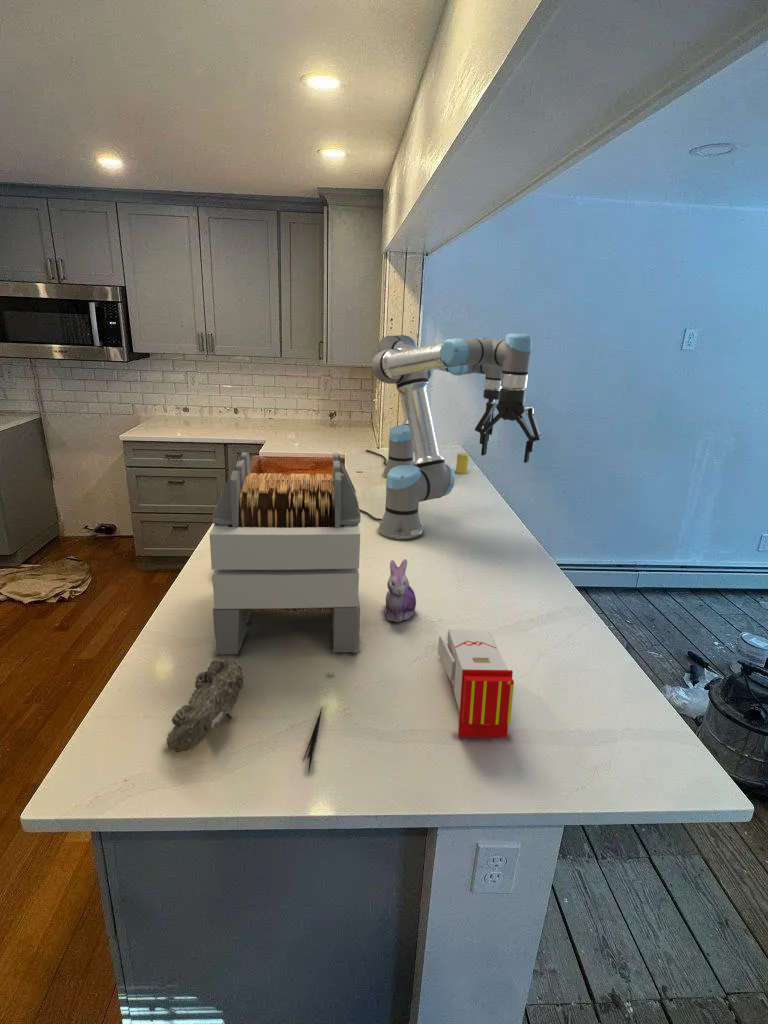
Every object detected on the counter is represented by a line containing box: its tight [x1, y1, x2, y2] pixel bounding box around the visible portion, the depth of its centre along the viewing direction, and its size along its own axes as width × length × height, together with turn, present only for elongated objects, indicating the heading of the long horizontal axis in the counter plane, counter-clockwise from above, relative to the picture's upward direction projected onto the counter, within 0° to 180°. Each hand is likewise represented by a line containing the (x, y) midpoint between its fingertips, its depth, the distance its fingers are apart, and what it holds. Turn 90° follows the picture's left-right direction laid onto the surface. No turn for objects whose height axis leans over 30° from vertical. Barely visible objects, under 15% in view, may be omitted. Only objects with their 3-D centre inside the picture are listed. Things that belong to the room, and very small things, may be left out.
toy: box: [437, 628, 515, 738], centre depth 117 cm, size 12×13×30 cm
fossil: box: [166, 658, 245, 754], centre depth 106 cm, size 22×10×15 cm
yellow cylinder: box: [455, 452, 469, 475], centre depth 278 cm, size 5×5×9 cm
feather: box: [301, 673, 332, 771], centre depth 108 cm, size 2×28×2 cm
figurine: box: [384, 558, 417, 623], centre depth 145 cm, size 9×10×15 cm
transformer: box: [209, 451, 362, 656], centre depth 137 cm, size 34×33×41 cm
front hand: (504, 458), depth 175 cm, fingers open, 13 cm apart
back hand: (487, 437), depth 253 cm, fingers open, 13 cm apart
